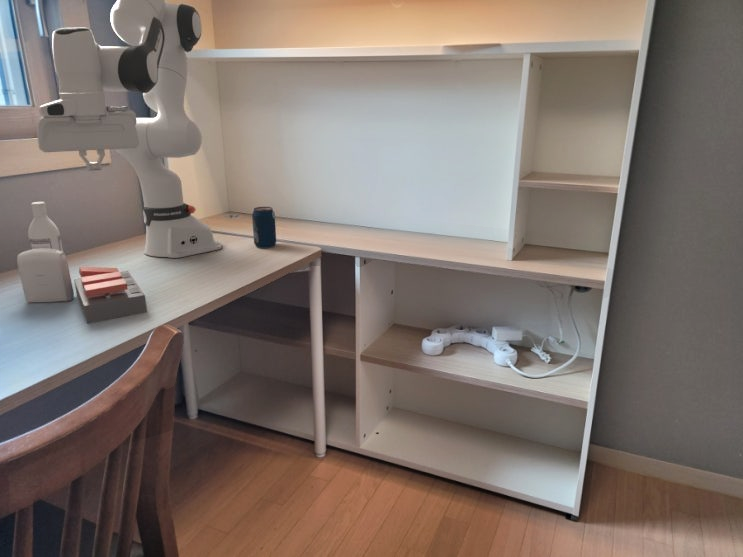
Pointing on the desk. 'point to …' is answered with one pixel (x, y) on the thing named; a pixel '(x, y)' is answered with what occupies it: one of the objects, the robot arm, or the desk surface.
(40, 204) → the bath foam
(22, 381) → the desk surface
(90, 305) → the rocker switch panel
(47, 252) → the photo printer
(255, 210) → the soda can
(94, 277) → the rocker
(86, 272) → the block
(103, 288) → the block
